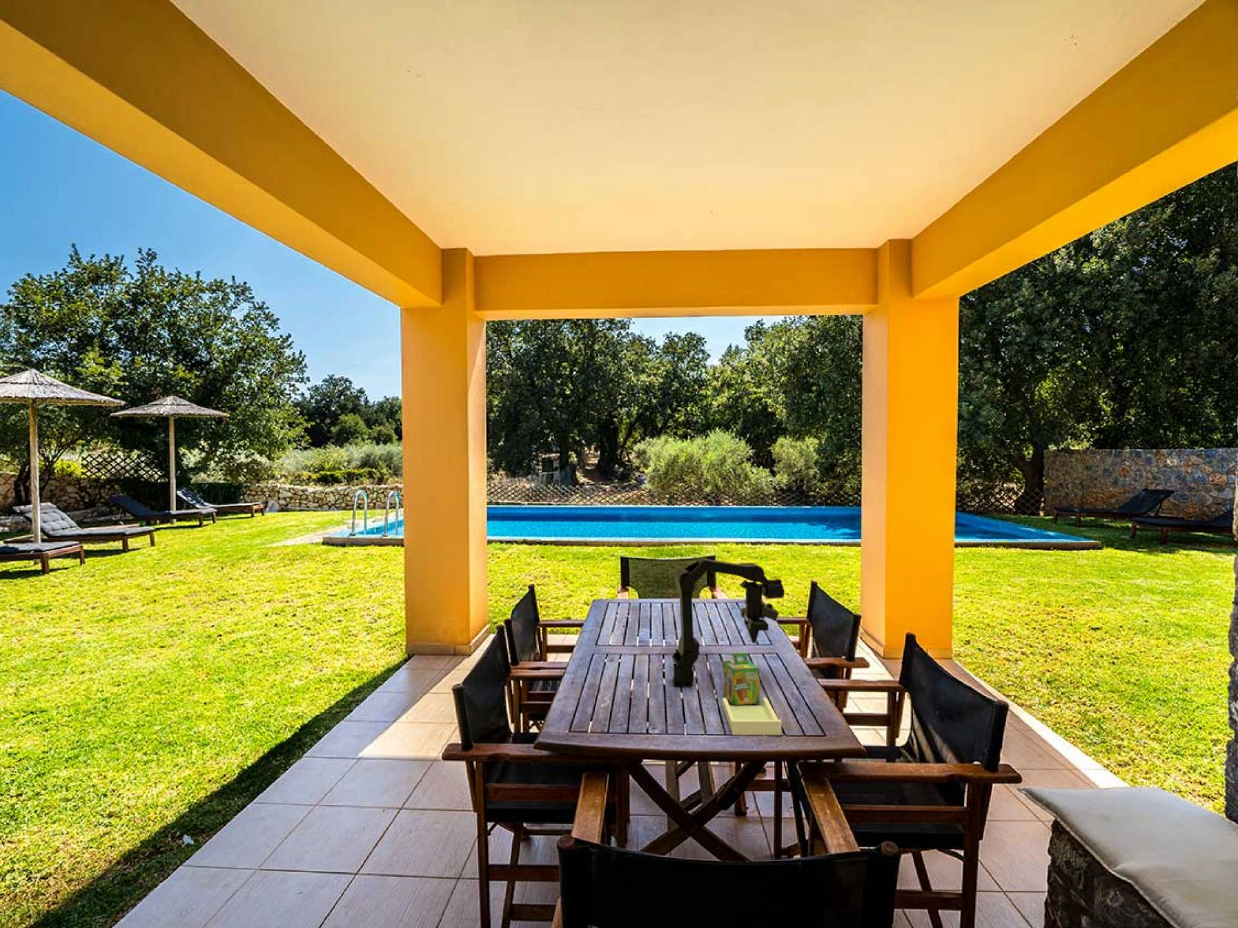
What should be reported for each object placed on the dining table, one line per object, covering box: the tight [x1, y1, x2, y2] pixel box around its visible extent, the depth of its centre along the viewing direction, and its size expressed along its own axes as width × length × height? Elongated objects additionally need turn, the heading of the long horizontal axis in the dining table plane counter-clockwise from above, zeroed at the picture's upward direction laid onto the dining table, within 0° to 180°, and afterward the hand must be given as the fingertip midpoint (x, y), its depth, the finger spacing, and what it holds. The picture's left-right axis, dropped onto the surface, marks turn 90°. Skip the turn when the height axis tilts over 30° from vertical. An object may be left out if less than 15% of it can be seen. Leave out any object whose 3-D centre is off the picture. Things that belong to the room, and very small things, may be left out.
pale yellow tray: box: [722, 697, 782, 736], centre depth 179 cm, size 14×18×4 cm
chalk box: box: [723, 652, 760, 706], centre depth 193 cm, size 9×9×15 cm
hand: (753, 642), depth 210 cm, fingers closed
